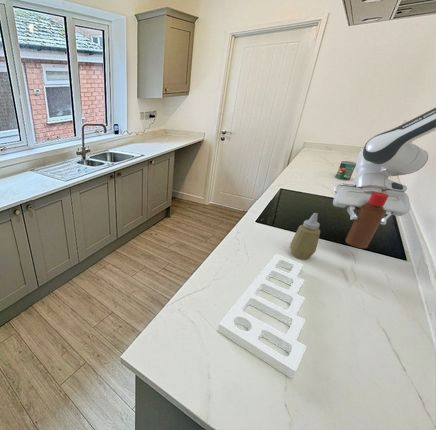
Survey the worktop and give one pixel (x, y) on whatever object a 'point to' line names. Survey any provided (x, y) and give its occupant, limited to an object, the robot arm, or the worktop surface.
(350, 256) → the worktop surface
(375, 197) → the cap
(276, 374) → the worktop surface
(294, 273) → the holder
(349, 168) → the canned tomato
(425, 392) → the worktop surface
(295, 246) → the squeeze bottle
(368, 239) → the bottle
